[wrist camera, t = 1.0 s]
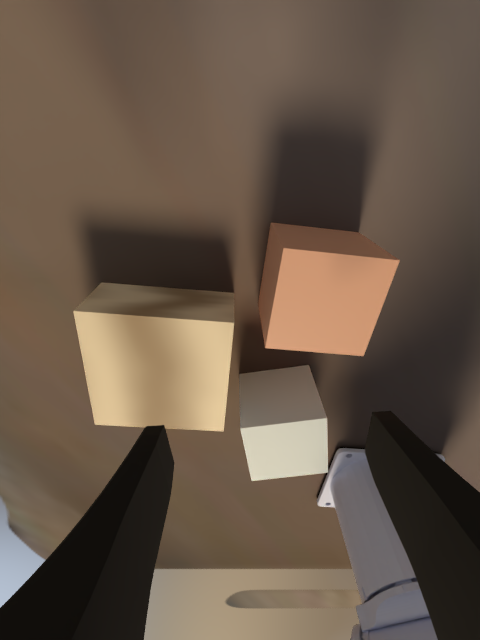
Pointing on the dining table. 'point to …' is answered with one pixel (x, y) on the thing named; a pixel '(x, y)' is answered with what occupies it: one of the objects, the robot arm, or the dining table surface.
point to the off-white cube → (283, 423)
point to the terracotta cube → (322, 289)
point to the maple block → (157, 355)
